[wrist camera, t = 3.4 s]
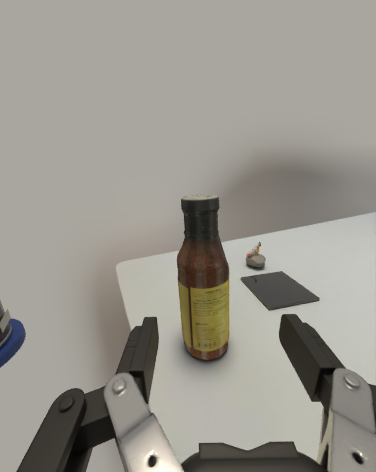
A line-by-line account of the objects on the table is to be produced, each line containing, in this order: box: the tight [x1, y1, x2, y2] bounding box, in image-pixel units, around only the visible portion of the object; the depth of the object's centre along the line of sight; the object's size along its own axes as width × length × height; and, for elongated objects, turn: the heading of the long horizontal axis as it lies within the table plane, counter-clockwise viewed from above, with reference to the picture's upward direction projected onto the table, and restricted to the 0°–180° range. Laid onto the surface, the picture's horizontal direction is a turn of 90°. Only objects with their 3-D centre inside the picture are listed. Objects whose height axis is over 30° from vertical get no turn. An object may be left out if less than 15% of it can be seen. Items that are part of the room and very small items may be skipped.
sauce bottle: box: [177, 195, 229, 360], centre depth 24 cm, size 7×6×20 cm
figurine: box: [246, 242, 266, 268], centre depth 47 cm, size 5×4×6 cm
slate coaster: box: [241, 271, 319, 310], centre depth 38 cm, size 10×10×1 cm
